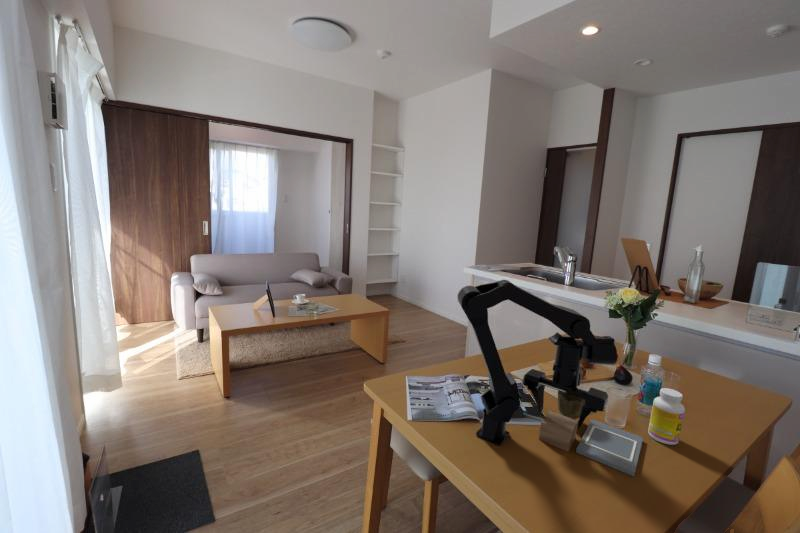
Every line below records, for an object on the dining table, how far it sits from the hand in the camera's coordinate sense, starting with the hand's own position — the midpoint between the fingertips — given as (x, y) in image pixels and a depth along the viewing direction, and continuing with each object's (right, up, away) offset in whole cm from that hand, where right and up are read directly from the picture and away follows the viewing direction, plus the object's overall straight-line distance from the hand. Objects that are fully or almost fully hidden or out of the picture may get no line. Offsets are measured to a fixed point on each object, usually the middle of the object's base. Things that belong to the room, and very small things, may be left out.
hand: (559, 420), depth 93 cm
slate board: (+12, -6, -1) cm, 14 cm away
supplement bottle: (+29, -6, +4) cm, 30 cm away
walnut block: (0, -5, +1) cm, 5 cm away
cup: (+7, -4, +9) cm, 12 cm away
